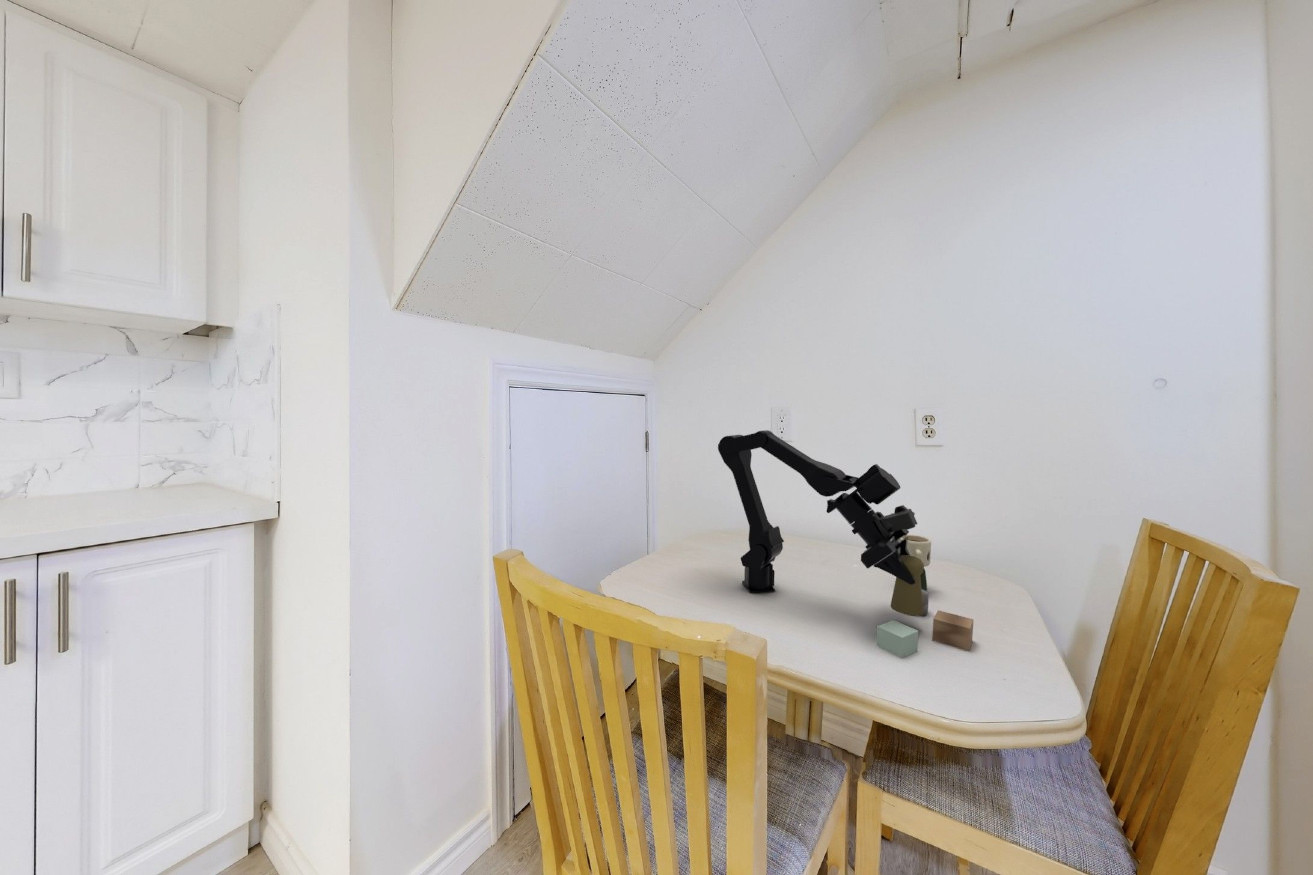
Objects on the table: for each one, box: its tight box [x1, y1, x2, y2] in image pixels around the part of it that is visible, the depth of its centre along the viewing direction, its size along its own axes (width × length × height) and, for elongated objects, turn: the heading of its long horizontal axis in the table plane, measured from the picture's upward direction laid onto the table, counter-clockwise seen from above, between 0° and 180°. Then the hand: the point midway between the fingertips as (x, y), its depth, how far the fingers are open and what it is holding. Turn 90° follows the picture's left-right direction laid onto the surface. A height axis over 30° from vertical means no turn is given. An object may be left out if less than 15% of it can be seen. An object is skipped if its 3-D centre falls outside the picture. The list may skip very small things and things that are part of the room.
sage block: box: [876, 619, 919, 659], centre depth 87 cm, size 5×5×4 cm
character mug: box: [900, 533, 932, 591], centre depth 115 cm, size 11×7×13 cm, turn 163°
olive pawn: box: [890, 555, 925, 617], centre depth 95 cm, size 6×6×11 cm
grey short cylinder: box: [918, 590, 930, 617], centre depth 103 cm, size 5×5×4 cm
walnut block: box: [931, 609, 974, 652], centre depth 90 cm, size 6×5×4 cm
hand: (916, 579), depth 94 cm, fingers closed on olive pawn, 5 cm apart
